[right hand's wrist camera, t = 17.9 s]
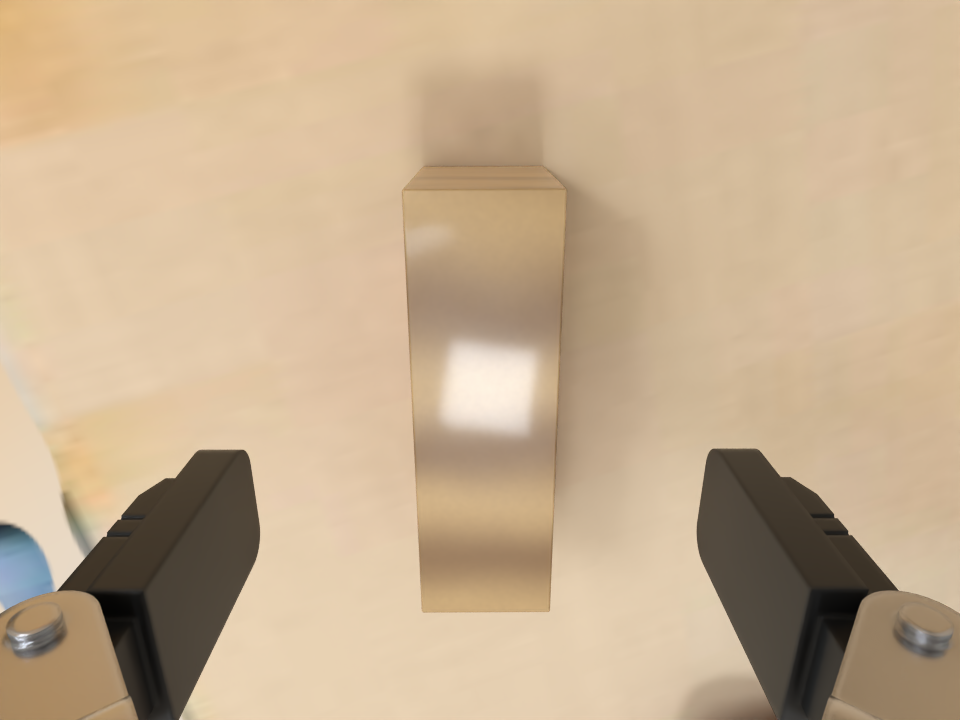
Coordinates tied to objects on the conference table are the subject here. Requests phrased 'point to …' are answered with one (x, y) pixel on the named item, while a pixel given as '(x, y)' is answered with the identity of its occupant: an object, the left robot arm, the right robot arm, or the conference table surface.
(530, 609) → the box
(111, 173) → the conference table surface
